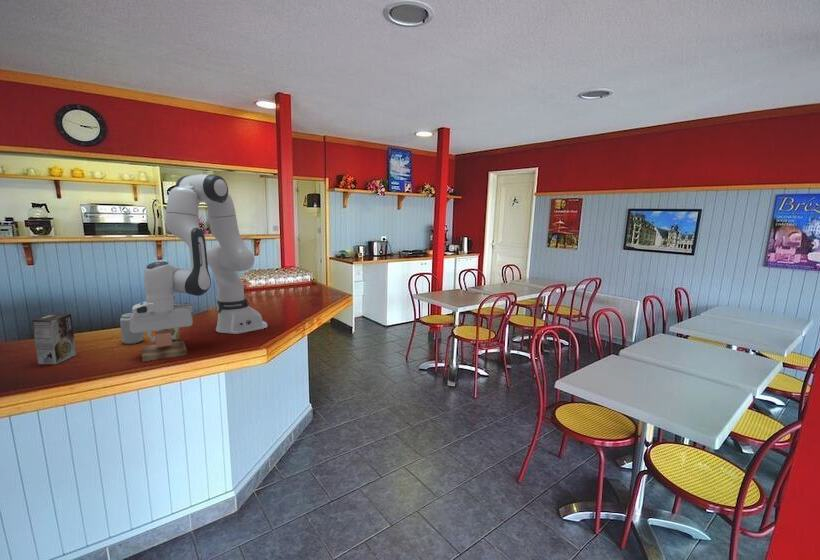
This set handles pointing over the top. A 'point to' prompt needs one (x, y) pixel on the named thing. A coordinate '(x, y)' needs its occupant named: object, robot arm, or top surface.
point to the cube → (163, 338)
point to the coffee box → (54, 338)
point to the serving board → (163, 351)
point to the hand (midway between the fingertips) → (163, 340)
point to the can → (125, 331)
